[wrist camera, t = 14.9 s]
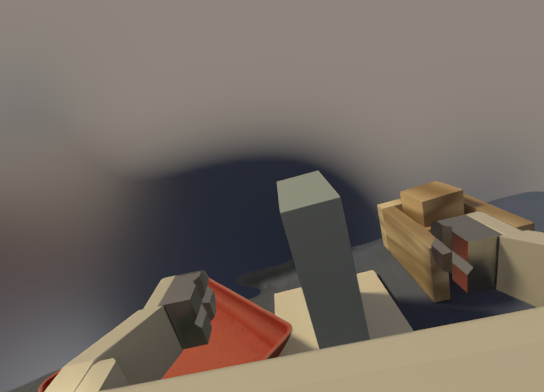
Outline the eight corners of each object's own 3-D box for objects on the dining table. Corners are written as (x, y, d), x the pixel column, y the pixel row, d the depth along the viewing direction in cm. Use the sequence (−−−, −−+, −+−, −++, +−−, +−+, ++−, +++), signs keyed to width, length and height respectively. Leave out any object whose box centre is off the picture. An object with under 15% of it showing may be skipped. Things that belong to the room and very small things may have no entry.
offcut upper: (424, 227, 28) (422, 202, 27) (403, 214, 32) (400, 191, 31) (464, 215, 28) (463, 189, 27) (438, 203, 32) (436, 181, 31)
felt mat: (280, 402, 20) (278, 397, 20) (275, 297, 32) (274, 293, 31) (436, 369, 19) (435, 363, 19) (374, 274, 31) (373, 270, 31)
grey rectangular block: (324, 368, 21) (280, 213, 17) (310, 300, 29) (276, 181, 25) (373, 357, 21) (340, 197, 17) (345, 292, 28) (318, 170, 24)
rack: (434, 302, 25) (429, 248, 23) (383, 244, 36) (377, 204, 34) (532, 280, 24) (534, 222, 22) (450, 228, 35) (447, 186, 33)
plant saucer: (54, 406, 26) (35, 382, 25) (208, 291, 36) (199, 271, 35) (64, 659, 12) (23, 628, 11) (307, 355, 23) (297, 326, 22)
